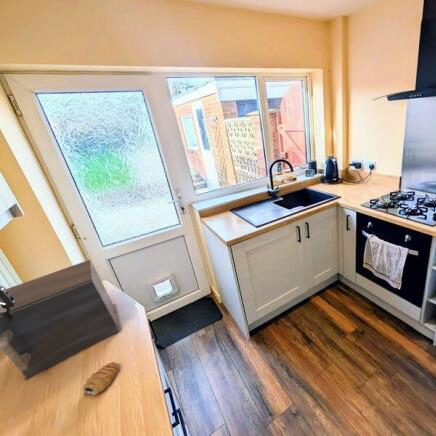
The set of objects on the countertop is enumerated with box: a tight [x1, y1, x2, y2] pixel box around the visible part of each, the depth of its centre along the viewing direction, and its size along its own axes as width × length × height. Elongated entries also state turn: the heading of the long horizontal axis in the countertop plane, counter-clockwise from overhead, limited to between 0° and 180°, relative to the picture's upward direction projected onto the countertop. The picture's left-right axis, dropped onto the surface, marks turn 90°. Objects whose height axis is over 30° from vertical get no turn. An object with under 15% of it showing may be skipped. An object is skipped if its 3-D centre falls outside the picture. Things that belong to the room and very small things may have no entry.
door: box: [0, 280, 120, 379], centre depth 81 cm, size 7×26×24 cm, turn 129°
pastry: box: [82, 361, 120, 396], centre depth 76 cm, size 9×7×4 cm
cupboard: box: [0, 259, 120, 329], centre depth 90 cm, size 18×26×24 cm
